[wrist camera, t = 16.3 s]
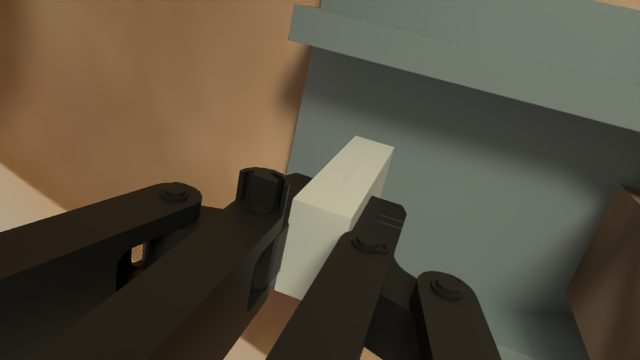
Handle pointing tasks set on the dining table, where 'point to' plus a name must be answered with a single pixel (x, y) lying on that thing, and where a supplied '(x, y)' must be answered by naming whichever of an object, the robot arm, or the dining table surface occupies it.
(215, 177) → the dining table surface
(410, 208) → the grey grooved base
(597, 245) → the brown rectangular block
